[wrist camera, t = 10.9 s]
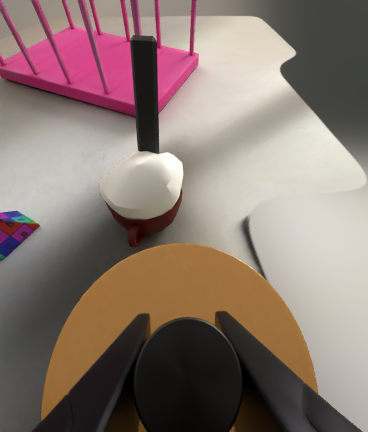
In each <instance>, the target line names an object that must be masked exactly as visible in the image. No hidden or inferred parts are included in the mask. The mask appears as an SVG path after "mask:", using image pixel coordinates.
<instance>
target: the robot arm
mask: <svg viewBox="0 0 368 432" xmlns="http://www.w3.org/2000/svg"><path fill="white" fill-rule="evenodd" d="M215 327H217V328H218V329H219V330H220V331H221V332H222V333H223V334H224V335H225V336H226V337H227V338H228V340H229V341H230V343H231V344H232V346H233V348H234V350H235V352H236V354H237V357H238V359H239V363H240V367H241V372H242V379H243V395H242V402H241V406H240V410H239V414H238V416H237V419H236V421H235V423H234V428H235V432H362V431H361V430H360V429H359V428H357V427H356V426H355V425H354V424H353V423H351V422H350V421H349V420H348V419H346V418H345V417H344V416H343V415H342V414H340V413H339V412H338V411H337V410H336V409H334V408H333V407H332V406H331V405H330V404H329V403H328V402H326V401H325V400H324V399H323V398H322V397H321V396H320V395H318V394H317V393H316V392H315V391H314V390H313V389H312V388H311V387H310V386H309V385H307V384H306V383H304V381H303V380H302V379H301V378H300V377H299V376H297V375H296V374H295V373H294V372H293V371H292V370H291V369H290V368H289V367H288V366H286V365H285V364H284V363H283V362H282V361H281V360H280V359H279V358H278V357H277V356H275V355H274V354H273V353H272V352H271V351H270V350H269V349H268V348H267V347H266V346H264V345H263V344H262V343H261V342H260V341H259V340H258V339H257V338H256V337H255V336H253V335H252V334H251V333H250V332H249V331H248V330H247V329H246V328H245V327H244V326H242V325H241V324H240V323H239V322H238V321H237V320H236V319H235V318H234V317H233V316H231V315H230V314H229V313H228V312H227V311H216V313H215ZM150 335H151V327H150V314H149V313H140V314H138V315H137V316H136V317H135V318H134V319H133V320H132V321H131V323H130V324H129V325H128V326H127V327H126V328H125V329H124V330H123V331H122V333H121V334H120V335H119V336H118V337H117V338H116V339H115V340H114V342H113V343H112V344H111V345H110V346H109V347H108V348H107V349H106V350H105V352H104V353H103V354H102V355H101V356H100V357H99V358H98V359H97V360H96V362H95V363H94V364H93V365H92V366H91V367H90V368H89V369H88V371H87V372H86V373H85V374H84V375H83V376H82V377H81V378H80V379H79V381H78V382H77V383H76V384H75V385H74V386H73V387H72V388H71V390H70V391H69V392H68V394H66V395H65V396H64V397H63V398H62V399H61V401H60V402H59V403H58V404H57V405H56V406H55V407H54V408H53V409H52V410H51V412H50V413H49V414H48V415H47V416H46V417H45V418H44V419H43V420H42V421H41V422H40V423H39V424H38V425H37V427H36V428H35V429H34V430H33V431H32V432H138V428H139V423H140V418H139V416H138V413H137V410H136V406H135V401H134V395H133V376H134V370H135V365H136V362H137V358H138V356H139V353H140V351H141V349H142V347H143V345H144V344H145V342H146V341H147V339H148V338H149V337H150Z"/></svg>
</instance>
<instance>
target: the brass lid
mask: <svg viewBox="0 0 368 432" xmlns="http://www.w3.org/2000/svg"><path fill="white" fill-rule="evenodd" d="M216 311H227V312H228V313H229V314H230V315H231V316H233V317H234V318H235V319H236V320H237V321H238V322H239V323H240V324H241V325H242V326H244V327H245V328H246V329H247V330H248V331H249V332H250V333H251V334H252V335H253V336H255V337H256V338H257V339H258V340H259V341H260V342H261V343H262V344H263V345H264V346H266V347H267V348H268V349H269V350H270V351H271V352H272V353H273V354H274V355H275V356H277V357H278V358H279V359H280V360H281V361H282V362H283V363H284V364H285V365H286V366H288V367H289V368H290V369H291V370H292V371H293V372H294V373H295V374H296V375H297V376H299V377H300V378H301V379H302V380H303V381H304V383H306V384H307V385H309V386H310V387H311V388H312V389H313V390H314V391H315V392H316V393H317V394H318V389H317V383H316V378H315V373H314V368H313V364H312V360H311V358H310V354H309V351H308V348H307V345H306V342H305V340H304V337H303V335H302V333H301V330H300V328H299V326H298V324H297V322H296V320H295V319H294V317H293V315H292V313H291V311H290V310H289V308H288V307H287V306H286V304H285V302H284V301H283V300H282V298H281V297H280V296H279V294H278V293H277V292H276V291H275V289H274V288H273V287H272V286H271V285H270V284H269V283H268V282H267V281H266V280H265V279H264V278H263V277H262V276H261V275H260V274H259V273H258V272H256V271H255V270H254V269H252V268H251V267H250V266H249V265H247V264H246V263H244V262H242V261H241V260H239V259H237V258H236V257H234V256H232V255H230V254H227V253H225V252H223V251H220V250H217V249H214V248H211V247H207V246H202V245H197V244H185V243H181V244H167V245H161V246H156V247H153V248H149V249H146V250H143V251H141V252H138V253H136V254H134V255H131V256H129V257H128V258H126V259H124V260H122V261H121V262H119V263H118V264H116V265H115V266H113V267H112V268H111V269H109V270H108V271H107V272H105V273H104V274H103V275H102V276H101V277H100V278H99V279H98V280H97V281H96V282H94V284H93V285H92V286H91V287H90V288H89V289H88V290H87V291H86V293H85V294H84V295H83V296H82V298H81V299H80V300H79V302H78V303H77V305H76V306H75V307H74V309H73V310H72V312H71V314H70V316H69V317H68V319H67V321H66V323H65V324H64V326H63V328H62V331H61V333H60V335H59V337H58V340H57V342H56V344H55V347H54V350H53V353H52V356H51V359H50V362H49V366H48V370H47V375H46V379H45V384H44V390H43V399H42V408H41V421H42V420H43V419H44V418H45V417H46V416H47V415H48V414H49V413H50V412H51V410H52V409H53V408H54V407H55V406H56V405H57V404H58V403H59V402H60V401H61V399H62V398H63V397H64V396H65V395H66V394H68V392H69V391H70V390H71V388H72V387H73V386H74V385H75V384H76V383H77V382H78V381H79V379H80V378H81V377H82V376H83V375H84V374H85V373H86V372H87V371H88V369H89V368H90V367H91V366H92V365H93V364H94V363H95V362H96V360H97V359H98V358H99V357H100V356H101V355H102V354H103V353H104V352H105V350H106V349H107V348H108V347H109V346H110V345H111V344H112V343H113V342H114V340H115V339H116V338H117V337H118V336H119V335H120V334H121V333H122V331H123V330H124V329H125V328H126V327H127V326H128V325H129V324H130V323H131V321H132V320H133V319H134V318H135V317H136V316H137V315H138V314H140V313H149V314H150V327H151V335H150V337H149V338H148V339H147V341H146V342H145V344H144V345H143V347H142V349H141V351H140V353H139V356H138V358H137V362H136V365H135V370H134V376H133V395H134V401H135V406H136V410H137V413H138V416H139V418H140V423H139V428H138V432H235V428H234V423H235V421H236V419H237V416H238V414H239V410H240V406H241V402H242V395H243V379H242V372H241V367H240V363H239V359H238V357H237V354H236V352H235V350H234V348H233V346H232V344H231V343H230V341H229V340H228V338H227V337H226V336H225V335H224V334H223V333H222V332H221V331H220V330H219V329H218V328H217V327H215V313H216Z"/></svg>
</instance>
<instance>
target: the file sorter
mask: <svg viewBox="0 0 368 432" xmlns="http://www.w3.org/2000/svg"><path fill="white" fill-rule="evenodd" d="M31 1H32V4H33V6H34V8H35V10H36V13H37V15H38V17H39V19H40V22H41V24H42V26H43V29H44V31H45V33H46V35H47V39H45V40H43V41H41V42H39V43H37V44H35V45H33V46H31V47H29V48H27V49H26V47H25V45H24V43H23V41H22V40H21V38H20V36H19V34H18V32H17V30H16V28H15V26H14V24H13V22H12V20H11V18H10V16H9V14H8V12H7V10H6V8H5V6H4V4H3V2H2V0H0V12H1V13H2V15H3V17H4V19H5V21H6V23H7V25H8V27H9V28H10V30H11V32H12V34H13V36H14V38H15V40H16V42H17V44H18V46H19V47H20V49H21V51H22V52H20V53H18V54H16V55H14V56H12V57H10V58H8V59H6V60H4V59H3V58H2V56H1V54H0V76H1V77H2V78H4V79H8V80H12V81H15V82H19V83H22V84H26V85H29V86H33V87H36V88H40V89H43V90H47V91H50V92H54V93H57V94H61V95H64V96H68V97H71V98H74V99H78V100H81V101H85V102H88V103H92V104H95V105H99V106H102V107H106V108H109V109H113V110H116V111H119V112H123V113H126V114H130V115H133V116H136V115H135V102H134V89H133V75H132V62H131V49H130V32H129V25H128V19H127V12H126V6H125V0H120V1H121V8H122V13H123V20H124V26H125V32H126V38H125V37H120V36H116V35H111V34H107V33H102V32H101V29H100V25H99V21H98V17H97V13H96V8H95V4H94V0H89V1H90V5H91V9H92V13H93V17H94V21H95V25H96V29H97V31H93V29H92V25H91V22H90V18H89V14H88V10H87V7H86V3H85V0H78V3H79V7H80V10H81V14H82V17H83V21H84V24H85V27H86V29H84V28H79V27H74V25H73V22H72V18H71V15H70V12H69V9H68V6H67V3H66V0H62V3H63V6H64V9H65V12H66V15H67V18H68V21H69V24H70V27H68V28H66V29H64V30H62V31H60V32H58V33H56V34H55V35H53V34H52V32H51V29H50V27H49V24H48V22H47V20H46V18H45V15H44V13H43V11H42V8H41V6H40V3H39V1H38V0H31ZM196 2H197V0H192V10H191V29H190V52H189V51H184V50H179V49H175V48H170V47H166V46H161V33H160V13H159V0H155V19H156V33H157V66H158V114H159V112H160V111H161V110H162V109H163V107H164V106H165V105H166V104H167V102H168V101H169V100H170V99H171V97H172V96H173V95H174V94H175V92H176V91H177V90H178V89H179V88H180V86H181V85H182V84H183V83H184V81H185V80H186V79H187V78H188V77H189V75H190V74H191V73H192V72H193V70H194V69H195V68H196V67H197V66H198V58H199V54H198V53H194V34H195V18H196ZM131 8H132V16H133V22H134V31H135V35H138V36H142V32H141V24H140V16H139V7H138V0H131Z"/></svg>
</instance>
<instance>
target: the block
mask: <svg viewBox="0 0 368 432" xmlns="http://www.w3.org/2000/svg"><path fill="white" fill-rule="evenodd" d="M39 226H40V225H39V224H37V223H36V222H34V221H33V220H31V219H29V218H28V217H26V216H25V215H23V214H22V213H20V212H18V211H12V212H3V213H0V258H2V259H4V258H5V257H7V256H8V255H9V254H10V253H11V252H12V251H13V250H14V249H15V248H16V247H17V246H18V245H20V244H21V243H22V242H23V241H24V240H25V239H26V238H27V237H28V236H29V235H30V234H31V233H33V232H34V231H35V230H36V229H37V228H38V227H39Z"/></svg>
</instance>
